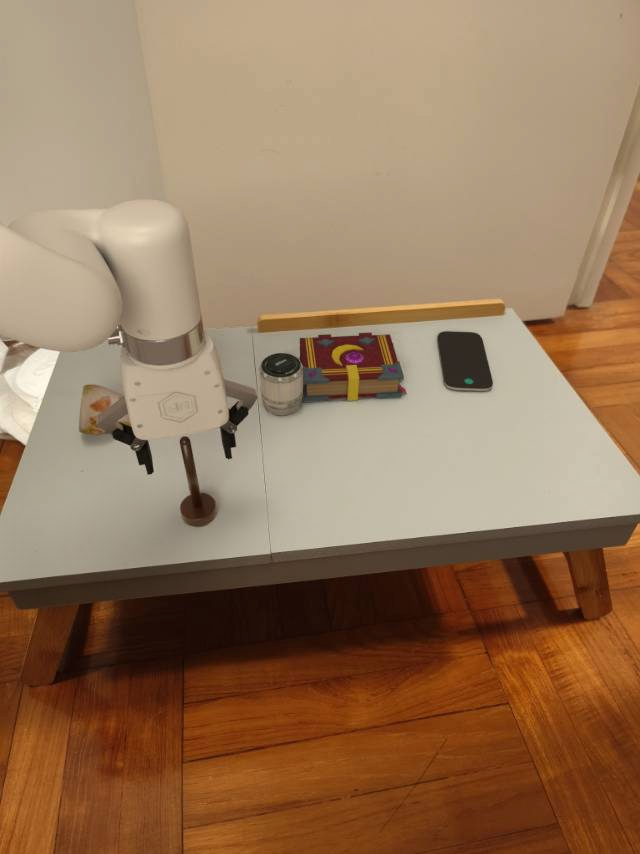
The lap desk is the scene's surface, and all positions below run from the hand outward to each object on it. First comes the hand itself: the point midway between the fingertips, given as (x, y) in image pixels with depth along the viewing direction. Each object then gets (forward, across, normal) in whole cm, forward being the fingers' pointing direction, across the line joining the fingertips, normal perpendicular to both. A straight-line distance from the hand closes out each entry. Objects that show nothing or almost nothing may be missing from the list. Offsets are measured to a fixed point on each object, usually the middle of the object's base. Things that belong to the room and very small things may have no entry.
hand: (188, 457), depth 71 cm
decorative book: (+10, +27, +20) cm, 35 cm away
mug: (+10, -9, +19) cm, 24 cm away
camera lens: (+10, +15, +18) cm, 25 cm away
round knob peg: (+10, 0, 0) cm, 10 cm away
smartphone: (+10, +46, +20) cm, 51 cm away
